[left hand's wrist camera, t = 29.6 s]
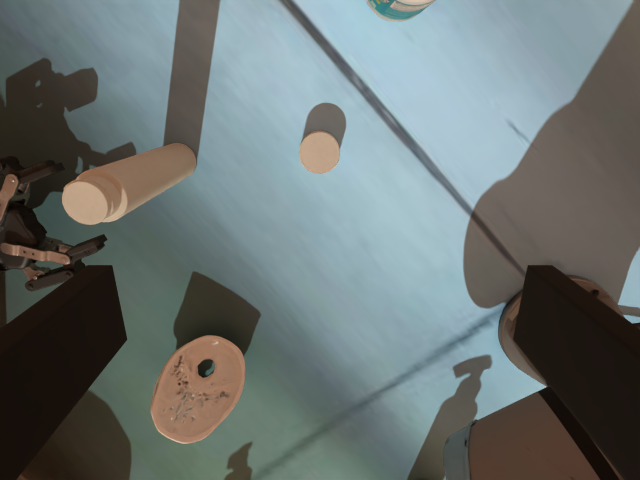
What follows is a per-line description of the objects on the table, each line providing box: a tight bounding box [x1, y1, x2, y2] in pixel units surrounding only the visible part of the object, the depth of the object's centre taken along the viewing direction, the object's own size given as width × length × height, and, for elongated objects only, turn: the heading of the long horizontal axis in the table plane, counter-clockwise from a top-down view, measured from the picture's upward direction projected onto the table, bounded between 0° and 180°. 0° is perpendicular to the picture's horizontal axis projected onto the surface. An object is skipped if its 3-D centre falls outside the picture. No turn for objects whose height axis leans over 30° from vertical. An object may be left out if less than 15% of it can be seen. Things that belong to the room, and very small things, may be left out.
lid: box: [299, 130, 340, 174], centre depth 45 cm, size 5×5×2 cm
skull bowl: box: [151, 335, 245, 444], centre depth 54 cm, size 10×14×12 cm
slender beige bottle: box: [62, 143, 196, 225], centre depth 37 cm, size 4×4×20 cm
